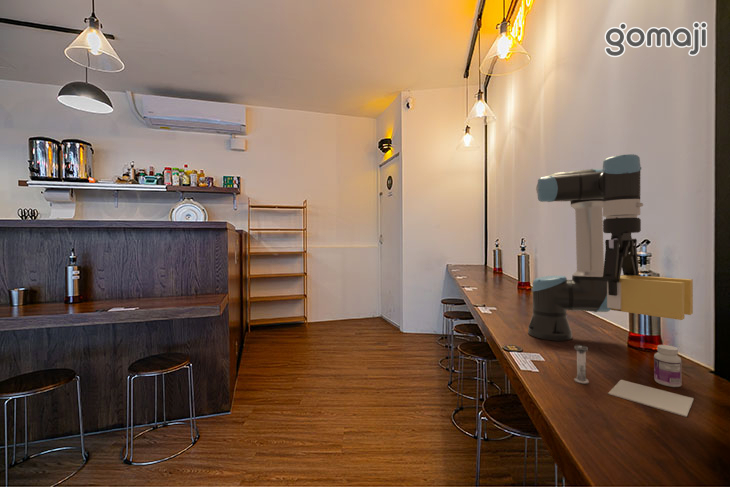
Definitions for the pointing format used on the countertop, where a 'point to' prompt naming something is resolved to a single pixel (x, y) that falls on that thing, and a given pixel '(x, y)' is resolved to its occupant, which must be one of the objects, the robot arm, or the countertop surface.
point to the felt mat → (653, 397)
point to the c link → (656, 296)
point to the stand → (581, 364)
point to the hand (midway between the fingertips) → (621, 305)
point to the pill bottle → (667, 366)
